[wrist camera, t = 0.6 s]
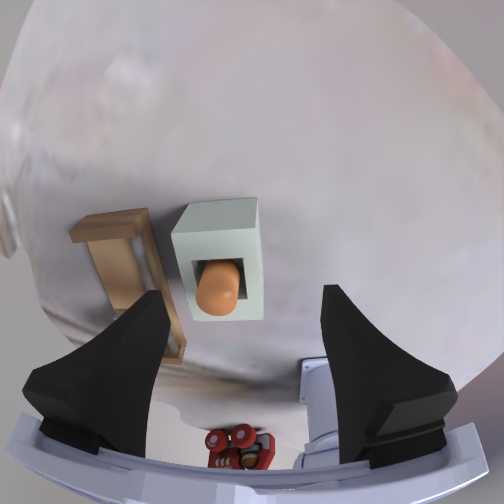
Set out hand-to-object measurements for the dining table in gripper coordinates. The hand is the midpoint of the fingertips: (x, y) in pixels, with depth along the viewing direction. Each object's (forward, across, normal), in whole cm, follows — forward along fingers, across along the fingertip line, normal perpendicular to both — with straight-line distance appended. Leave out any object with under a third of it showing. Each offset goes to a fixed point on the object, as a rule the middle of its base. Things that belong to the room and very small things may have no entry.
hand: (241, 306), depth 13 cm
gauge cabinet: (+10, +2, +2) cm, 11 cm away
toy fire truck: (+11, +4, +38) cm, 40 cm away
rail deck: (+10, +11, +6) cm, 16 cm away
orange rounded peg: (+6, +2, +2) cm, 7 cm away
